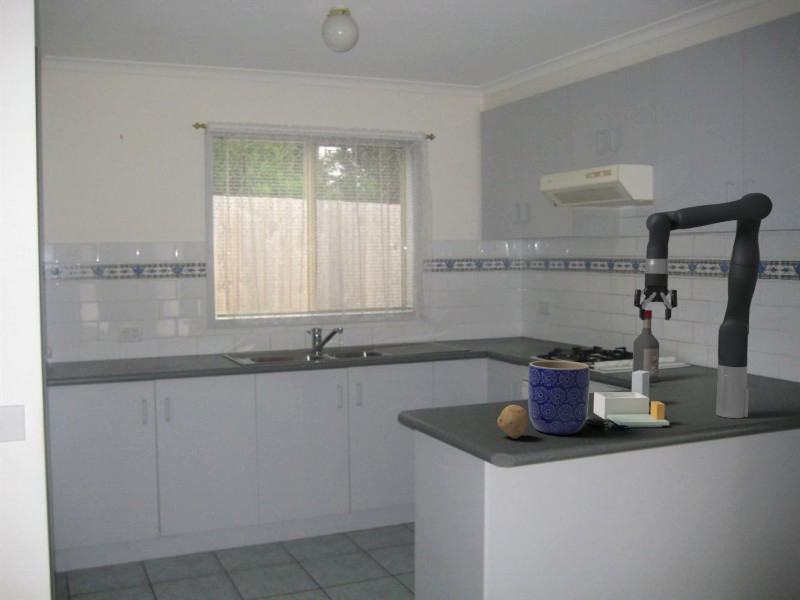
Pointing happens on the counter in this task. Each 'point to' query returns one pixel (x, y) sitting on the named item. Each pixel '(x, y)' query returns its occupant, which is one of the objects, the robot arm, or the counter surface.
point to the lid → (643, 417)
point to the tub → (620, 403)
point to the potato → (513, 421)
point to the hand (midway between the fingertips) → (655, 320)
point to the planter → (558, 396)
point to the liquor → (646, 350)
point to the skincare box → (640, 382)
